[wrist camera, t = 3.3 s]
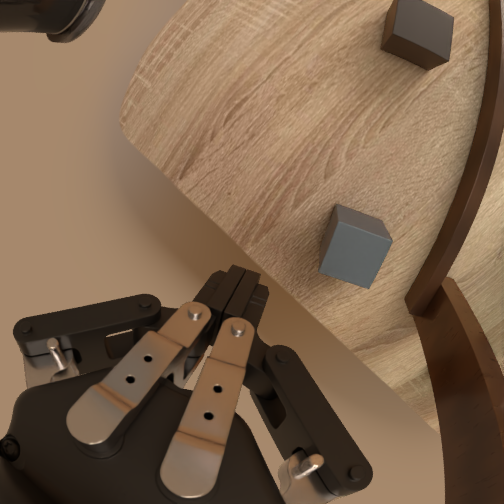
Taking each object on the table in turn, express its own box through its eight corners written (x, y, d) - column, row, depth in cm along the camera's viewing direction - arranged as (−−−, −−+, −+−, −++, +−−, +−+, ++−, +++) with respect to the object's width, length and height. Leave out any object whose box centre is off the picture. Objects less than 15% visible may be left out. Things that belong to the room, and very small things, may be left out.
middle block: (380, 49, 15) (392, 33, 11) (387, 10, 13) (399, -10, 9) (428, 70, 15) (449, 61, 11) (434, 31, 13) (454, 17, 9)
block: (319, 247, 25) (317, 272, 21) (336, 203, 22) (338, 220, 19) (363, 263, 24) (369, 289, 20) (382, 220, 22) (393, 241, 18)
